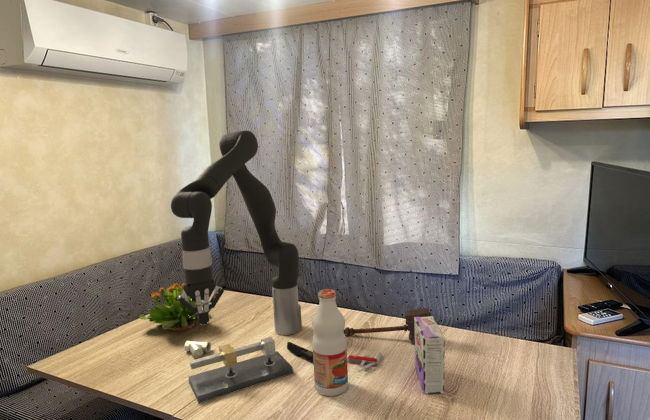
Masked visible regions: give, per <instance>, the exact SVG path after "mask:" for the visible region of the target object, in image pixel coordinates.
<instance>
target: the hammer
mask: <svg viewBox="0 0 650 420" xmlns="http://www.w3.org/2000/svg"><path fill="white" fill-rule="evenodd" d="M424 316H432V313H431V311H430V308H429V307H424V308H417V309H410V310H406V311H405V315H404V318H405V324H403V325H399V326H398V325H397V326H385V327H383V326H382V327H370V328H354V327H345V328H344V334H345V337H346V336H353V335H356V334H357V335H358V334H373V333H387V332H398V331H399V332H400V331H404V332H407V331H408V332H409V333H408V340H409V341H410V345H411V346H415V326H414V317H424Z"/></svg>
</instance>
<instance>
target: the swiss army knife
mask: <svg viewBox="0 0 650 420" xmlns="http://www.w3.org/2000/svg"><path fill="white" fill-rule="evenodd" d="M381 357H382V351H380V352H378V354H377V356H376V357H375V356H371V355H370V354H369V355H368V354H366V355H363V356H361V355H353V354H351V355H347V362H348V363H349V364H354V365H359V367H362V366H363V368H361V369H359V370H358V372H362V371H364V370H366V369H368V368H369V367H377V366H378V363H379V361H380V359H381Z"/></svg>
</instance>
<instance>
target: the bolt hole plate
mask: <svg viewBox="0 0 650 420" xmlns="http://www.w3.org/2000/svg"><path fill="white" fill-rule="evenodd" d="M275 352H276V353H274V354H271V362H268V358H267V356H265V355H264V354H263V355H259V356H255V357H252V358H248V359H245V360H241V361H237V364H236V365H233V366H232V369H233V373H232V374H229V367H226V366H225V365H224V366H220V367H218V368H217V367H216V368H213V369H211V370H207V371H204V372H203V371H202V372H199V373H196V374H192V375H190V376H188V383H189V385H190V388H191V390H192V392H193V394H194V396H195V399H196V401H197V403H198V404H200V403H203V402H206V401H209V400H212V399H216V398H218V397H222V396H225V395H228V394H231V393H235V392H238V391H241V390H244V389H247V388H251V387H253V386H256V385H260V384H262V383H266V382H269V381H273V380H275V379H280V378H282V377H285V376H288V375H291V374H294V372H293V371H294V368H293V366H292V365H291V364H290V363H289V362H288V361H287V360H286V358H284V356H283V355H282V354H281V353H280V352H279V351H277V350H275Z"/></svg>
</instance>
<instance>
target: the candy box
mask: <svg viewBox="0 0 650 420" xmlns="http://www.w3.org/2000/svg"><path fill="white" fill-rule="evenodd" d="M434 317H435V316H433V315H431V316H424V317H414V326H415V345H414V361H415V362H414V367H415V368H414V369H415V372H416V374H417V378H418V381H419V384H420V386H421V390H422V393H423V395H442V394H443V395H444V394H445V353H446V352H445V342H446V341H445V335H444V334H443V333H442V330H441V329H440V326H439V325H438V322H436V319H435V318H434Z"/></svg>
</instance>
